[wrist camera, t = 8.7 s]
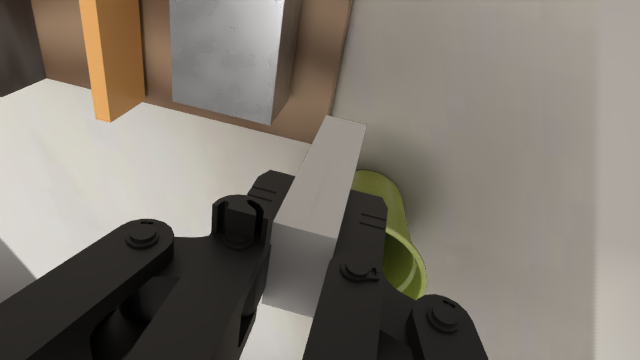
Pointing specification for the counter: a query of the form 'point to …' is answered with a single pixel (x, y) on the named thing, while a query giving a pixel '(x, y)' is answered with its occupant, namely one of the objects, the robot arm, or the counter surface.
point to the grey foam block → (234, 55)
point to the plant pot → (395, 236)
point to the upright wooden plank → (113, 55)
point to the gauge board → (154, 10)
